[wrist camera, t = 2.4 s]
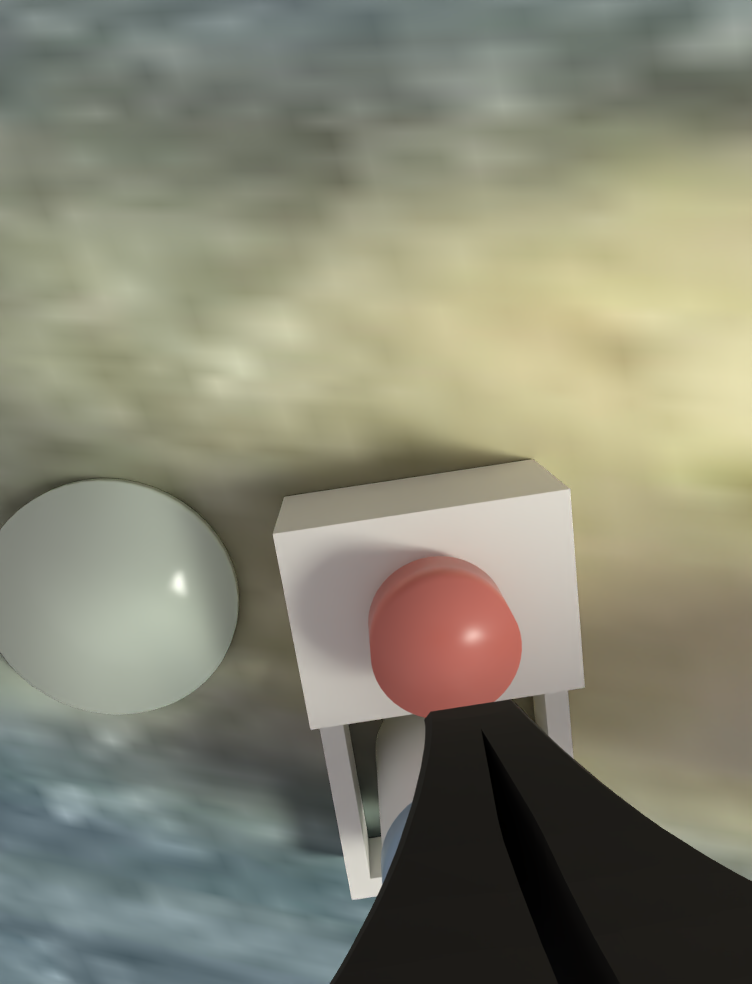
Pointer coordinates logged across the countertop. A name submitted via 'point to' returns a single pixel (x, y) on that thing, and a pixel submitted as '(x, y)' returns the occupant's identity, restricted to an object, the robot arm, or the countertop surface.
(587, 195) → the countertop surface
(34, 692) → the countertop surface
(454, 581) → the plunger
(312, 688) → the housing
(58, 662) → the pale green dome
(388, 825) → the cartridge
